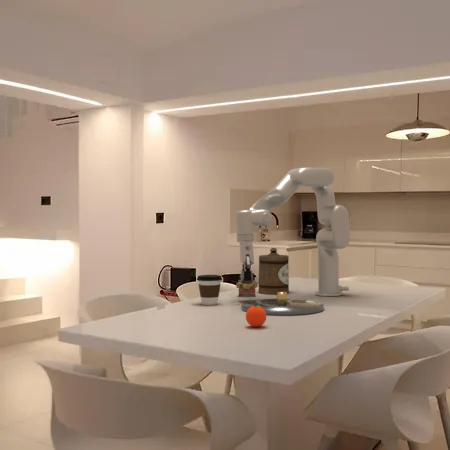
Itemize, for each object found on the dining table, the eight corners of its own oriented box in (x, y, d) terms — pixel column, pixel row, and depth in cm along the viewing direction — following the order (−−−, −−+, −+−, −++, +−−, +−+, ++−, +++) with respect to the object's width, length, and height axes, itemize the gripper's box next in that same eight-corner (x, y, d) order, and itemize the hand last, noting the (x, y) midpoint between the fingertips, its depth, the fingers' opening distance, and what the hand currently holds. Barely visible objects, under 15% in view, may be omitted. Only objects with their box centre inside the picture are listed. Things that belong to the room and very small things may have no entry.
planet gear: (255, 285, 244) (255, 269, 243) (259, 288, 234) (258, 272, 234) (235, 286, 243) (234, 270, 242) (238, 289, 233) (237, 273, 233)
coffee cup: (219, 306, 226) (219, 277, 226) (193, 305, 228) (193, 277, 228) (224, 302, 237) (224, 274, 237) (200, 301, 239) (200, 274, 239)
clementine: (255, 323, 188) (255, 302, 188) (272, 325, 184) (272, 304, 184) (241, 327, 182) (241, 305, 182) (258, 329, 178) (258, 307, 178)
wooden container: (288, 294, 259) (287, 248, 259) (257, 294, 262) (256, 248, 261) (289, 290, 274) (289, 247, 274) (260, 290, 276) (259, 247, 276)
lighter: (255, 296, 256) (255, 274, 256) (255, 297, 252) (255, 275, 252) (238, 296, 256) (238, 274, 256) (238, 297, 253) (237, 275, 253)
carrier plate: (311, 301, 238) (311, 286, 238) (334, 314, 205) (334, 297, 205) (236, 303, 234) (236, 288, 234) (247, 316, 201) (247, 299, 201)
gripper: (257, 238, 230) (258, 282, 230) (251, 237, 247) (252, 277, 247) (239, 239, 229) (240, 282, 230) (234, 237, 246) (235, 278, 246)
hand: (246, 279), depth 238 cm, fingers closed on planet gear, 5 cm apart
